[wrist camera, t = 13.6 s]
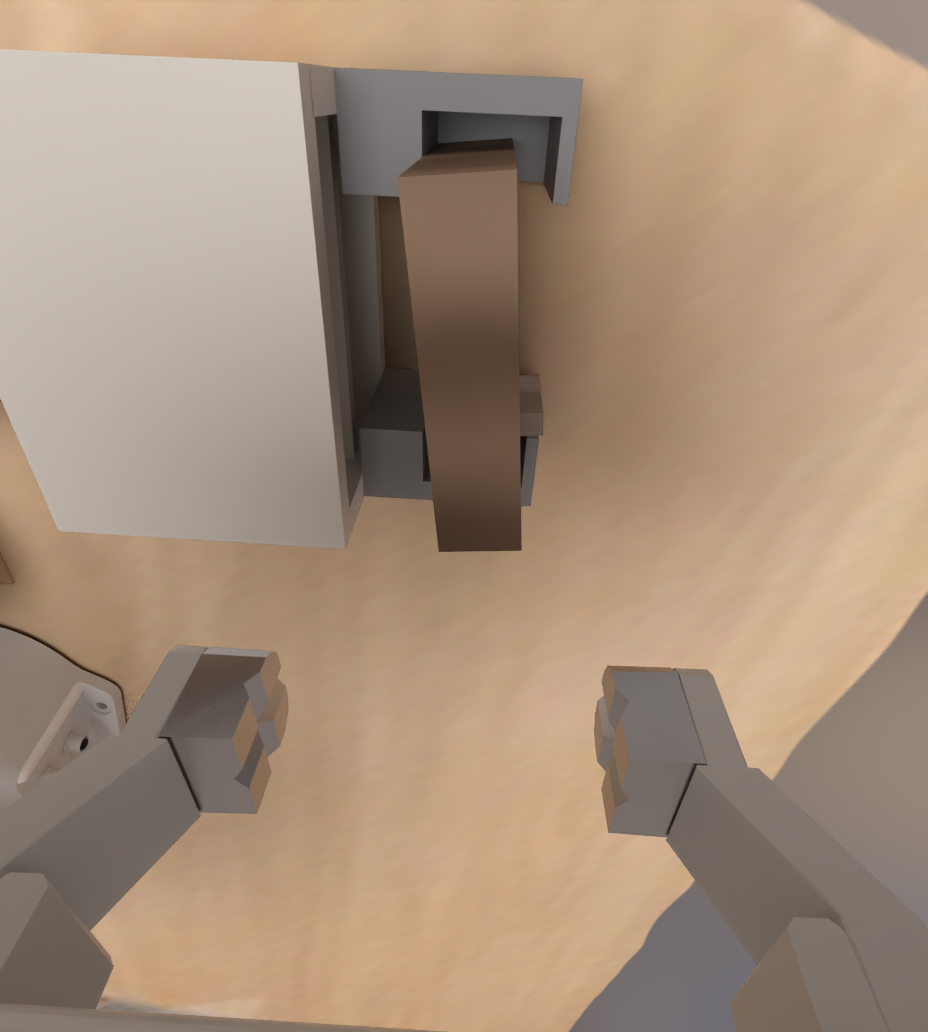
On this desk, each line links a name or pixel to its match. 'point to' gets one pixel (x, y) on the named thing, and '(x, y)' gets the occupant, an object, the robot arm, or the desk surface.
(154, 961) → the desk surface
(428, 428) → the wooden block
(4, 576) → the alarm clock
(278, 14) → the desk surface
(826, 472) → the desk surface
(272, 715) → the robot arm
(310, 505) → the cabinet
